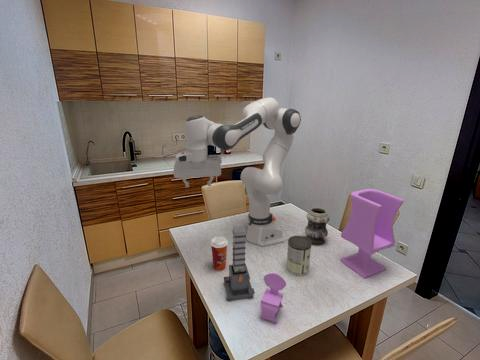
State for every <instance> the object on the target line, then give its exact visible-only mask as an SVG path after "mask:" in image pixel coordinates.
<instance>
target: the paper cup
mask: <svg viewBox="0 0 480 360" xmlns="http://www.w3.org/2000/svg"><path fill="white" fill-rule="evenodd" d="M228 244H229V243H228V239H226V237H224V236H215V237H213V238H211V241H210V246H211V256H212V264H213V265H212V266H213V269H214V270H215V271H218V272H220V271H221V272H222V271H223V270H225V268H226V266H227V255H228V254H227V250H228Z"/></svg>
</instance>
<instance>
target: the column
mask: <svg viewBox="0 0 480 360" xmlns="http://www.w3.org/2000/svg"><path fill="white" fill-rule="evenodd" d="M246 244H247V242H246V230H245V227H244V226H243V225H242V226H232V265H233V270H234V273H244V272H245V263H246Z"/></svg>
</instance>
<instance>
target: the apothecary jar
mask: <svg viewBox="0 0 480 360" xmlns="http://www.w3.org/2000/svg"><path fill="white" fill-rule="evenodd" d="M305 217H306V219H307V225H306V226H305V228H304V233H305V234H306V236H305V237H306V238H308V239H309V240H310V241H311V242H312V245H314V246H321V245H324V244H325V243H326V242H325V239H324V238H326V237H327V236H328V235H329V231H328V229H327V223H328V222H329V221H330V215H329V214H328V211H327V210H326V209H325V208H323V207H319V206H318V207H316V206H315V207H311V208H310V210H309V211H308V212H307V213H306V216H305Z"/></svg>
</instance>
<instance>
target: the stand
mask: <svg viewBox="0 0 480 360" xmlns="http://www.w3.org/2000/svg"><path fill="white" fill-rule="evenodd" d="M250 280H251V276H250V273H249V270H248V267H247V265H246V262H245V272H244V273H234V270H233V264H229V265H228V276H223V282H224V285H225V293H226V298H227V302H230V301H238V300H246V299H253V298H254V295H255V294H256V292H255V289H254V287H252V285H251V282H250Z"/></svg>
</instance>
